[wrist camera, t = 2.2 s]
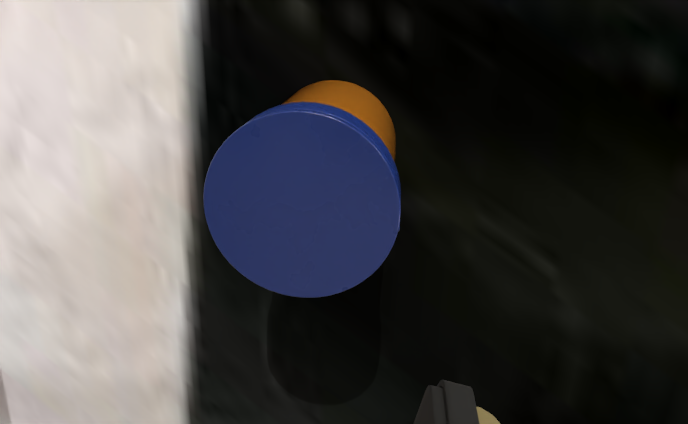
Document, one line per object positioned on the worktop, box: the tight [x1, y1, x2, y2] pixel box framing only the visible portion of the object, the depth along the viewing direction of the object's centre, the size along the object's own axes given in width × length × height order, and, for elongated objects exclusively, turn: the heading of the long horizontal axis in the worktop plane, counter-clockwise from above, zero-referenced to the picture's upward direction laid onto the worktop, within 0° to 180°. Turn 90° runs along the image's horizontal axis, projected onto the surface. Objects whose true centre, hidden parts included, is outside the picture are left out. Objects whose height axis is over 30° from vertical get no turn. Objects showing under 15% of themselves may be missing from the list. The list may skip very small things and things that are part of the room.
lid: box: [203, 102, 401, 298], centre depth 19 cm, size 7×7×2 cm
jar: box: [282, 80, 396, 163], centre depth 23 cm, size 6×6×10 cm
